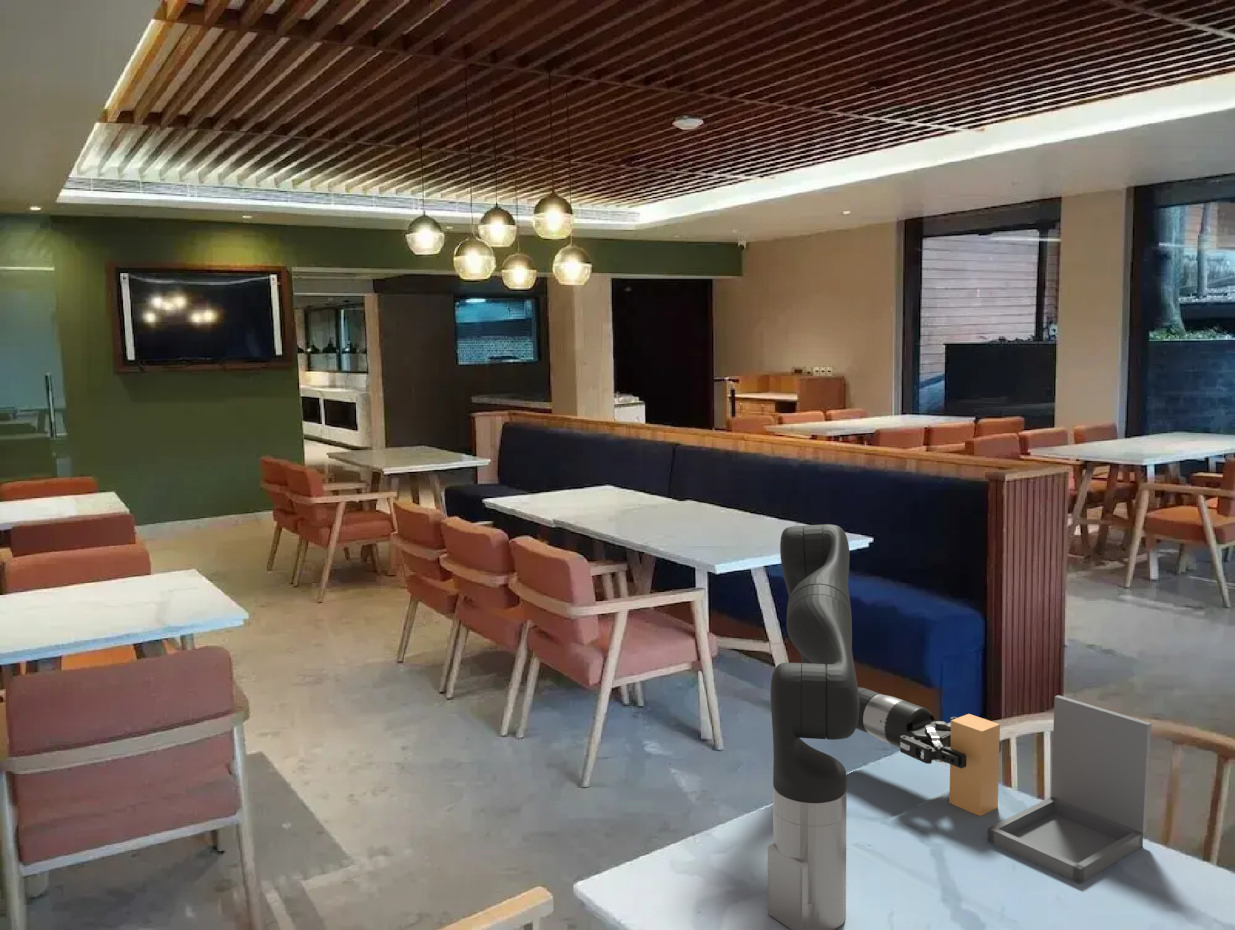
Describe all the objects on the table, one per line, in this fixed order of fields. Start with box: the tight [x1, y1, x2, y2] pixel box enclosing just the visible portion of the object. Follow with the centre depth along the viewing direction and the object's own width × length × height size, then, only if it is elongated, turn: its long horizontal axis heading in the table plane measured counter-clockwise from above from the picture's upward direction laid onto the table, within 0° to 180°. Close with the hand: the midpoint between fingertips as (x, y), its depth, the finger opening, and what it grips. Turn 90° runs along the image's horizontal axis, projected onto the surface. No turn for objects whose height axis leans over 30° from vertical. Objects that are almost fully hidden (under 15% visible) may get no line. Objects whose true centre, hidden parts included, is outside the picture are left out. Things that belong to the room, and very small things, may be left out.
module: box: [949, 713, 1001, 817], centre depth 153 cm, size 4×6×14 cm
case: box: [987, 694, 1153, 884], centre depth 141 cm, size 17×14×19 cm
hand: (982, 754), depth 152 cm, fingers open, 8 cm apart
